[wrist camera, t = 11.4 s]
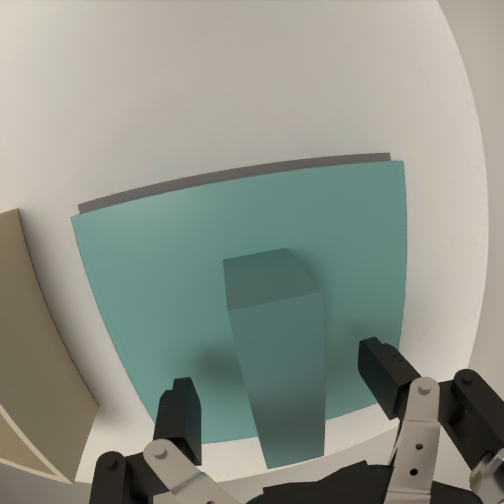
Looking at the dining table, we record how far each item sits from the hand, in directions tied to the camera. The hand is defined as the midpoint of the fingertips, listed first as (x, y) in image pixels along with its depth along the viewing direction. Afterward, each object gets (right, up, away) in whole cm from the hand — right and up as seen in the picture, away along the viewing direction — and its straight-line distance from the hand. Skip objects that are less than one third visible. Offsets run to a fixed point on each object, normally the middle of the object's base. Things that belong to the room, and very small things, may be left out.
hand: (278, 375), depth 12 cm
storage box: (-22, -1, +3) cm, 23 cm away
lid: (0, +1, +4) cm, 4 cm away
